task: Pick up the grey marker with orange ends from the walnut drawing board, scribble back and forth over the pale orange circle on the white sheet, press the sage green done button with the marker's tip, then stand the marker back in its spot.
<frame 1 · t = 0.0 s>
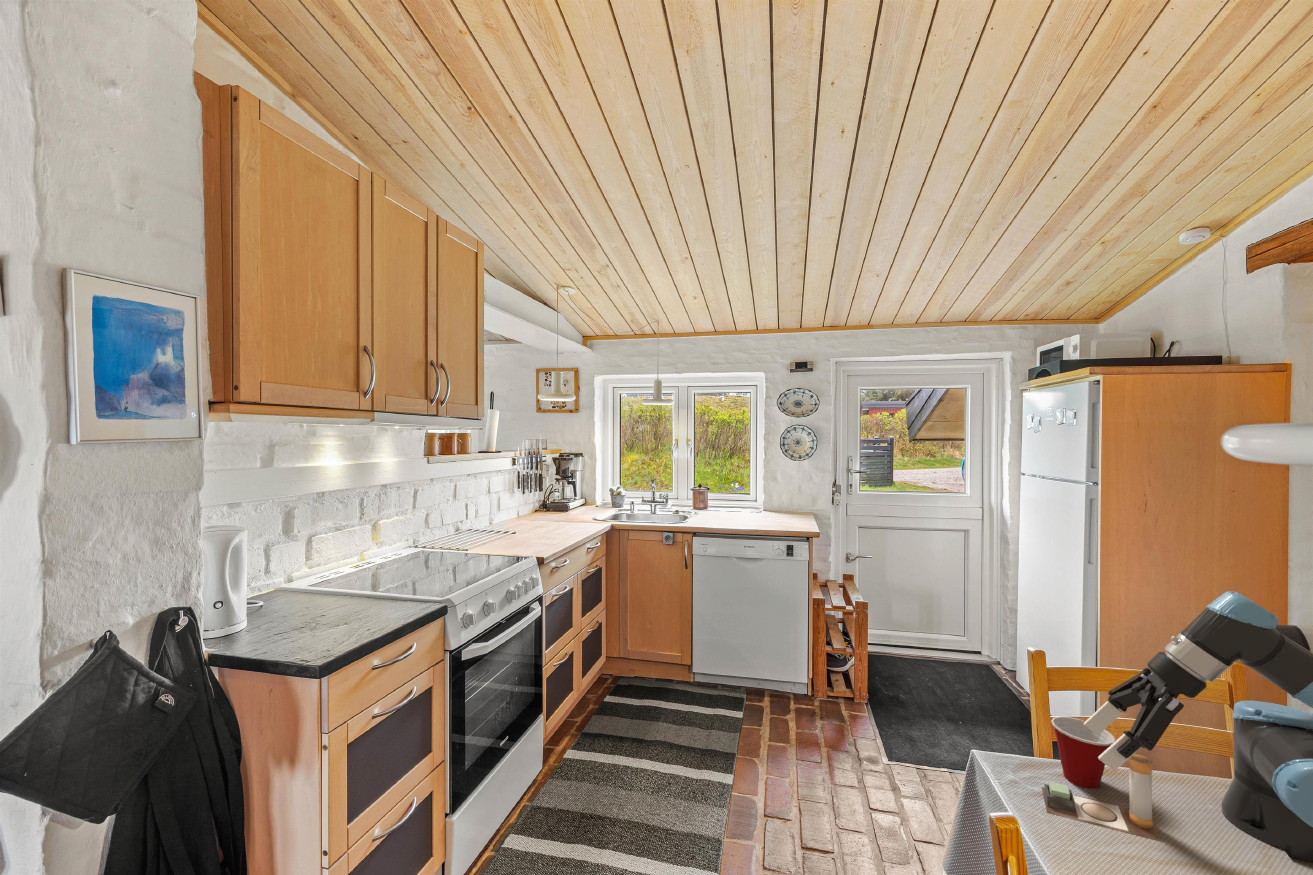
hand: (1097, 745, 106), 15 cm above the table, tool tilted 35°, fingers open, 13 cm apart
done button: (1059, 792, 112), point 3 cm above the table, slide at 0.0 cm
plastic cup: (1083, 785, 119), on the table
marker: (1140, 822, 106), point 1 cm above the table, touching board
board: (1097, 817, 109), on the table
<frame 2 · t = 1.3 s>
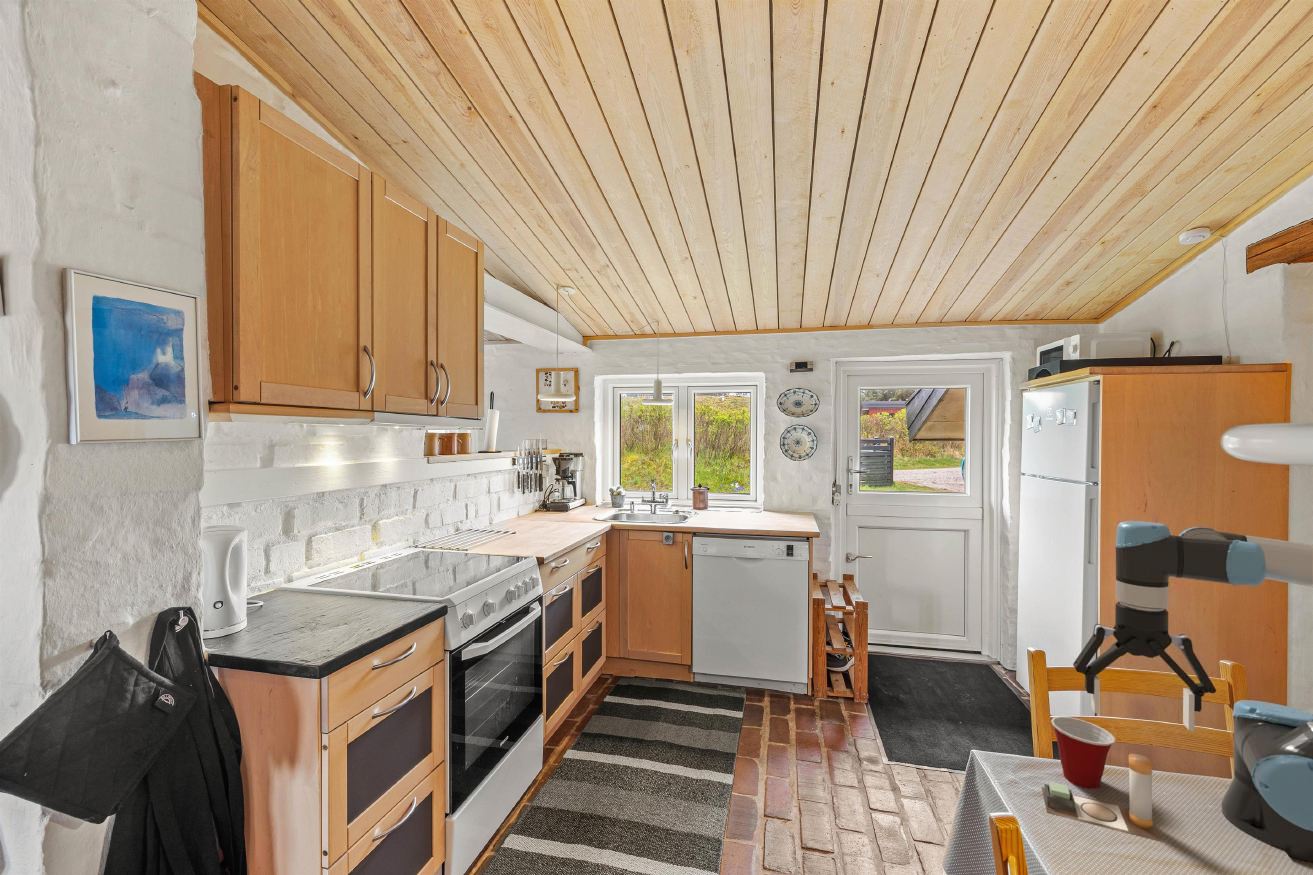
hand: (1140, 718, 106), 21 cm above the table, tool pointing down, fingers open, 13 cm apart
nothing on the table moved.
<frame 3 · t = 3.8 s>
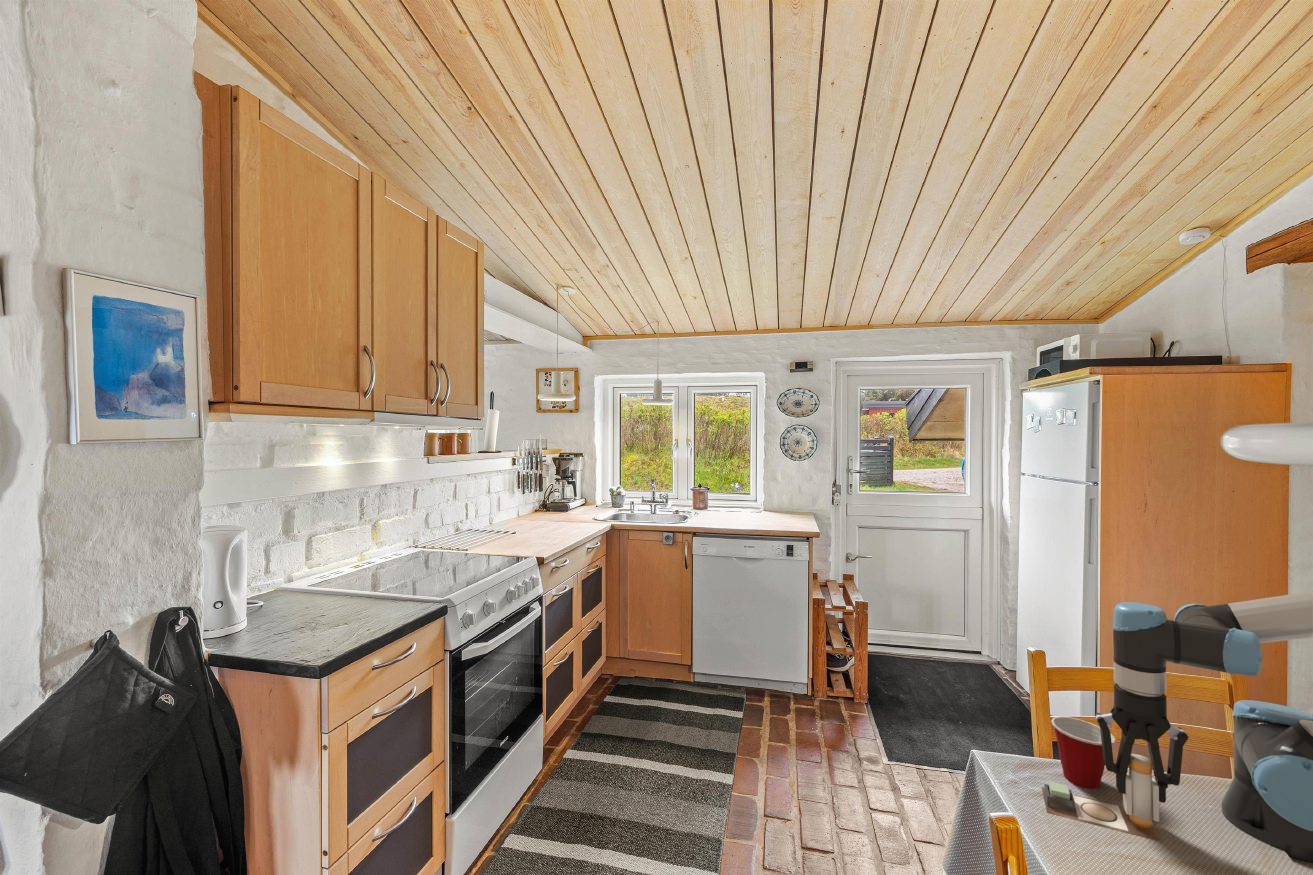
hand: (1140, 813, 106), 3 cm above the table, tool pointing down, fingers closed on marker, 3 cm apart
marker: (1140, 822, 106), point 1 cm above the table, touching board, gripper
everything else where it was.
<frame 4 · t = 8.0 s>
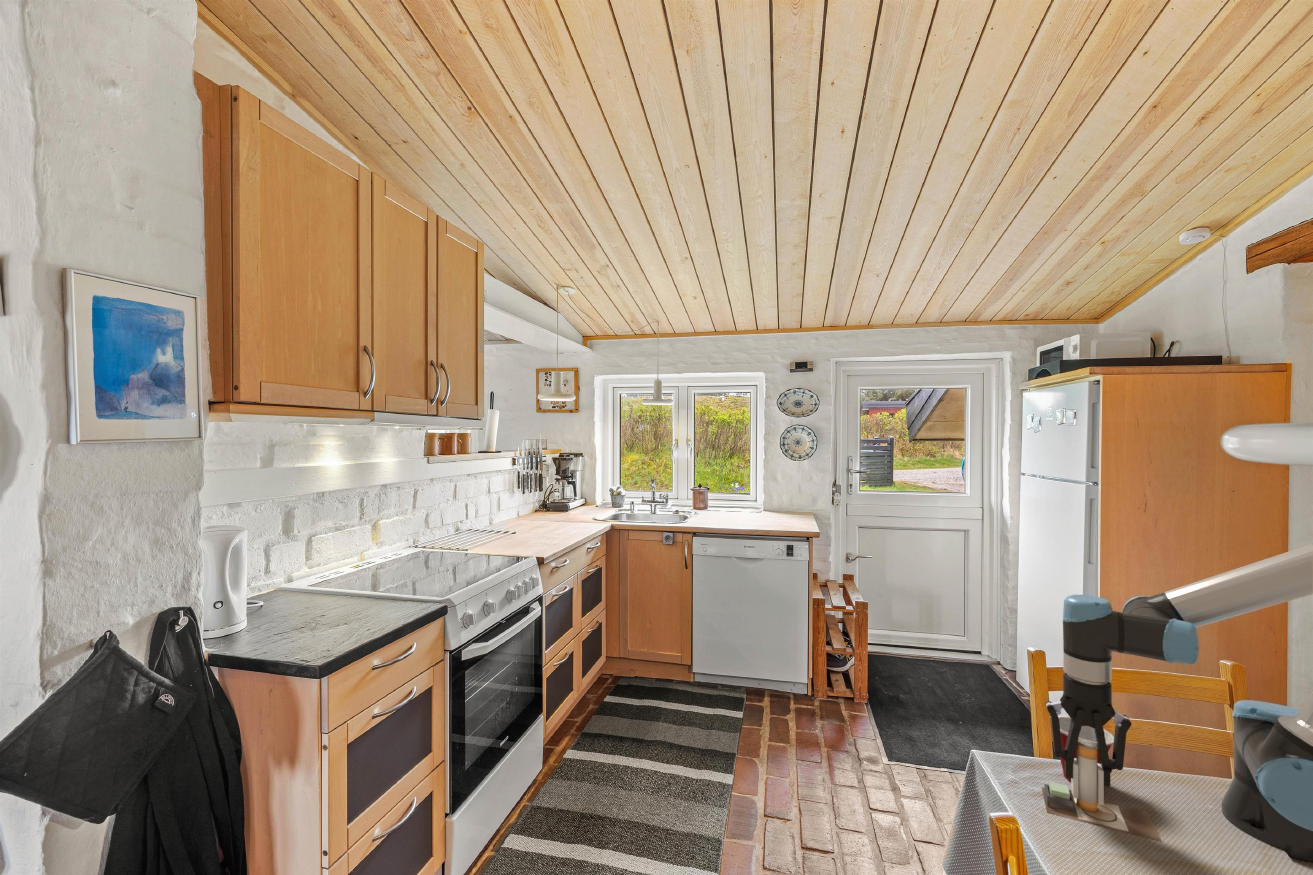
hand: (1087, 796, 110), 3 cm above the table, tool pointing down, fingers closed on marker, 3 cm apart
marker: (1087, 806, 110), point 1 cm above the table, touching gripper
everything else where it was.
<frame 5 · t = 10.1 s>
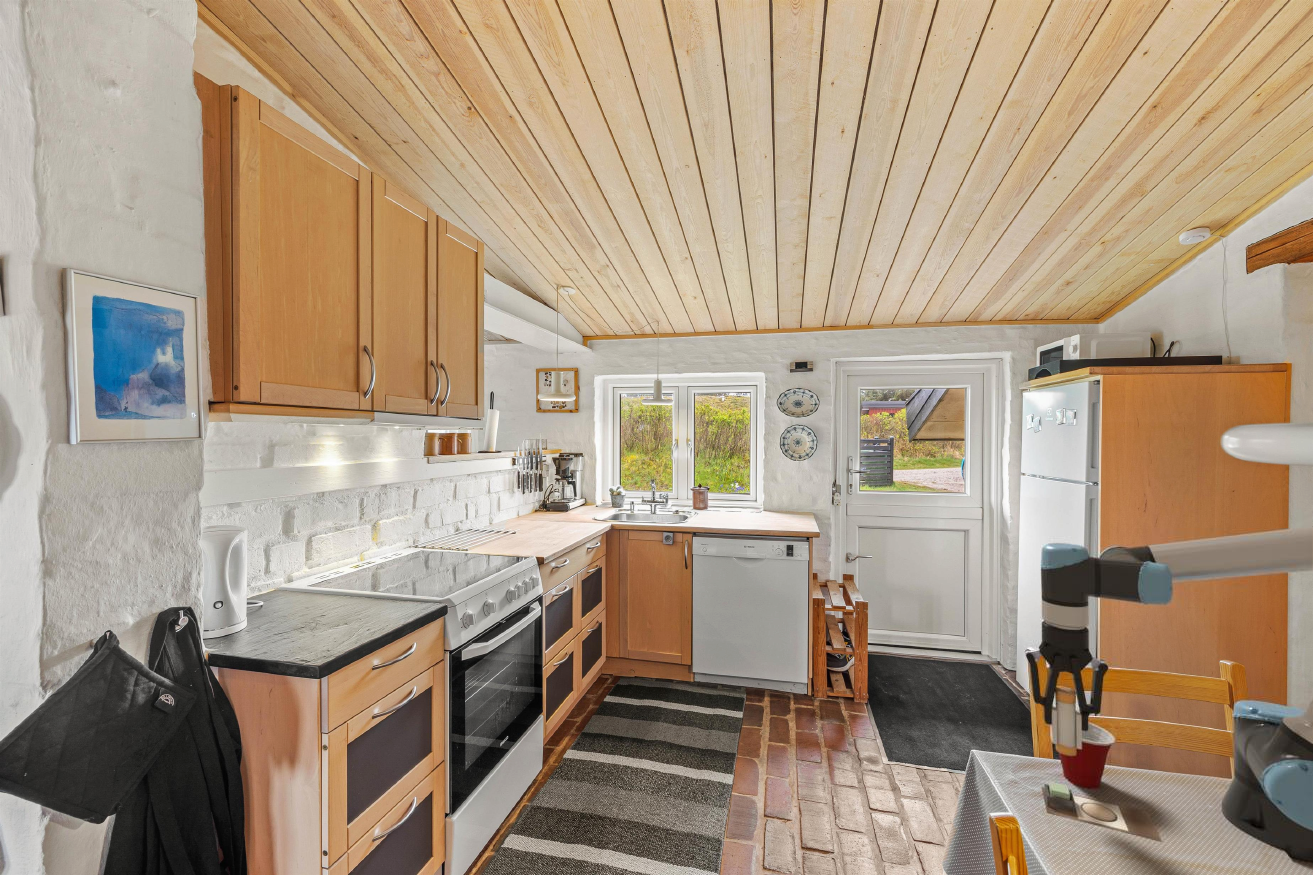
hand: (1065, 742, 111), 13 cm above the table, tool pointing down, fingers closed on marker, 3 cm apart
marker: (1065, 750, 111), point 12 cm above the table, touching gripper
everything else where it was.
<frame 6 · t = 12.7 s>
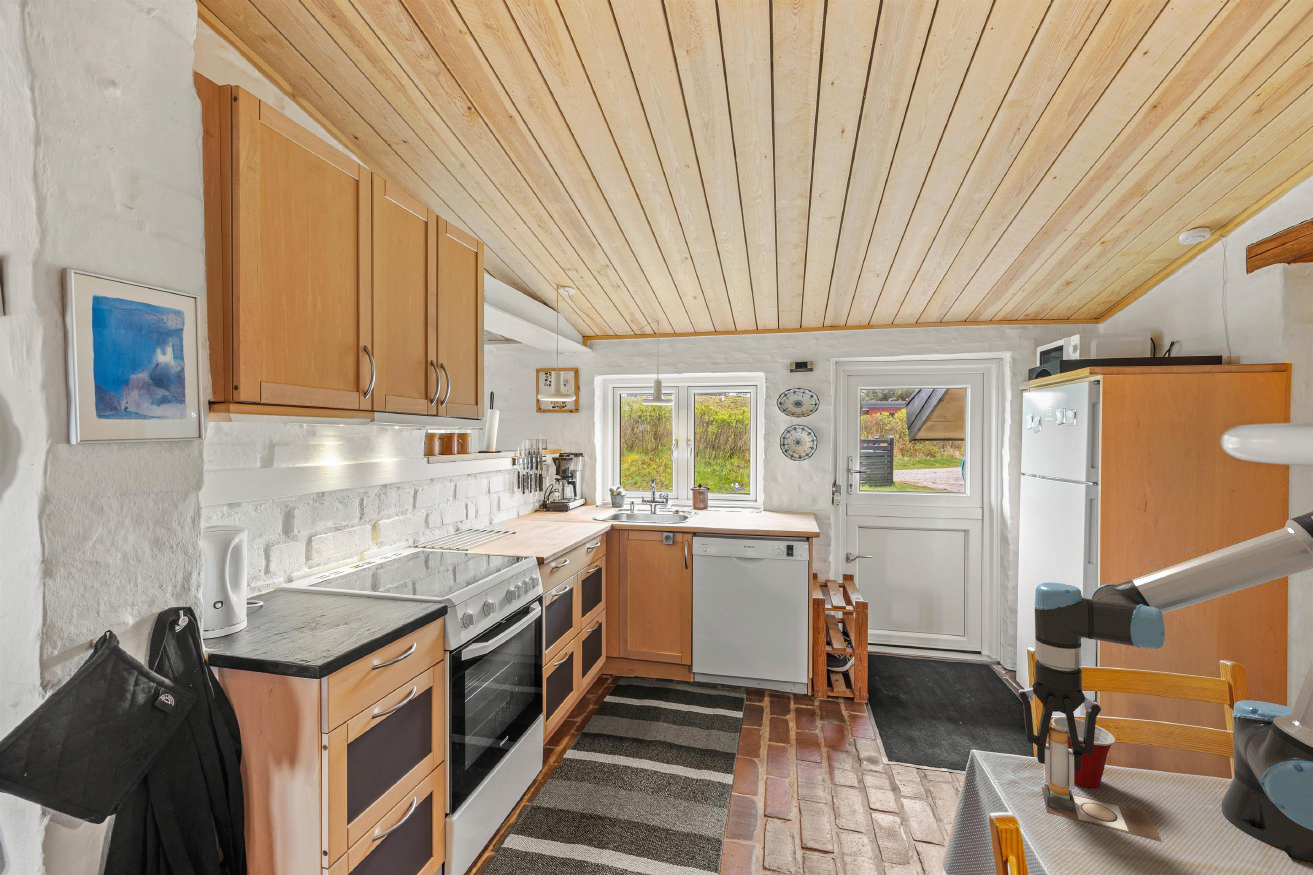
hand: (1058, 781, 112), 5 cm above the table, tool pointing down, fingers closed on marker, 3 cm apart
done button: (1059, 795, 112), point 2 cm above the table, slide at 0.5 cm, touching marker
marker: (1058, 790, 112), point 3 cm above the table, touching done button, gripper
everything else where it was.
when the fingers open (4 cm above the table, at t = 16.5 s): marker drops 1 cm, resting on board.
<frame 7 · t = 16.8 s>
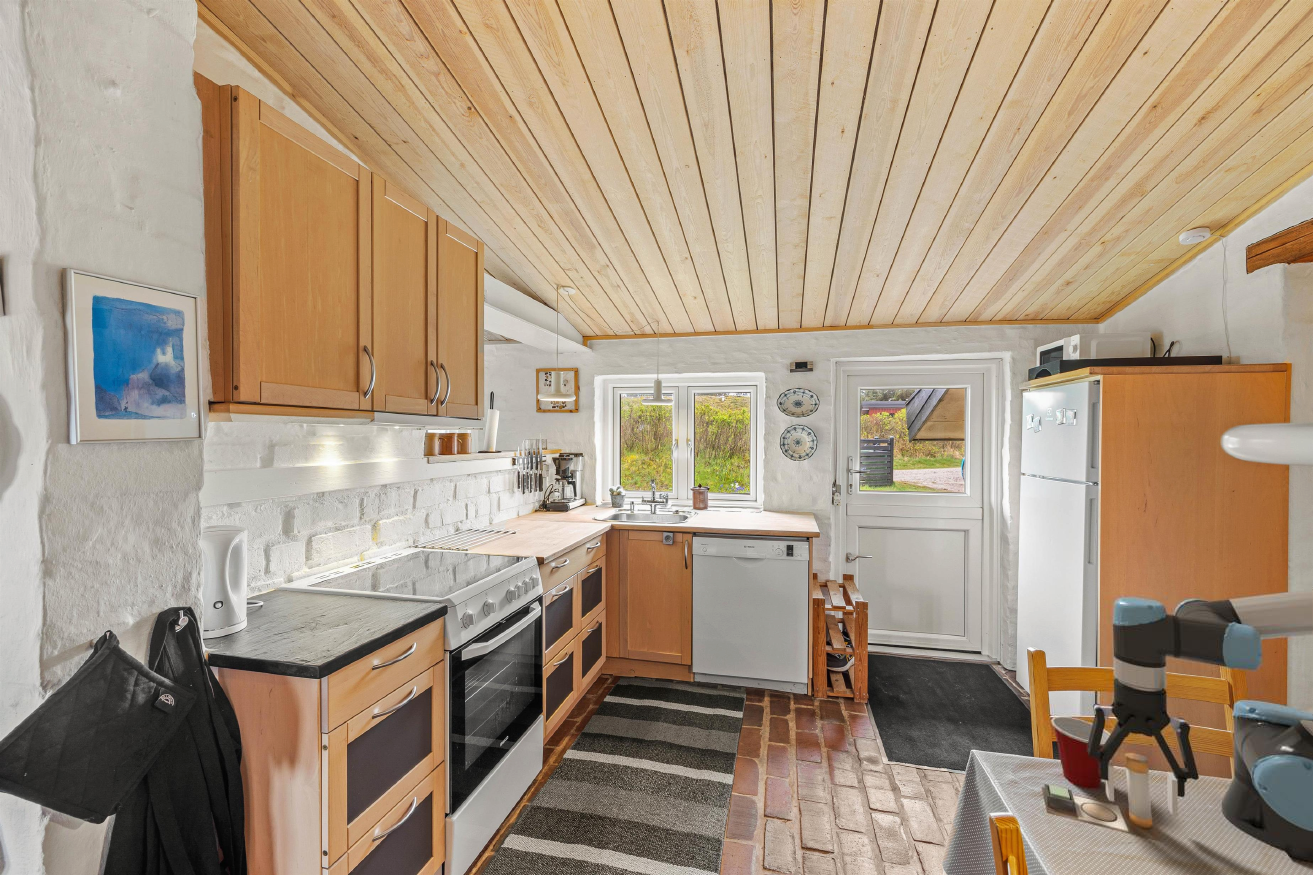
hand: (1140, 803, 106), 5 cm above the table, tool pointing down, fingers open, 8 cm apart
done button: (1059, 795, 112), point 2 cm above the table, slide at 0.6 cm
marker: (1140, 822, 106), point 1 cm above the table, touching board
everything else where it was.
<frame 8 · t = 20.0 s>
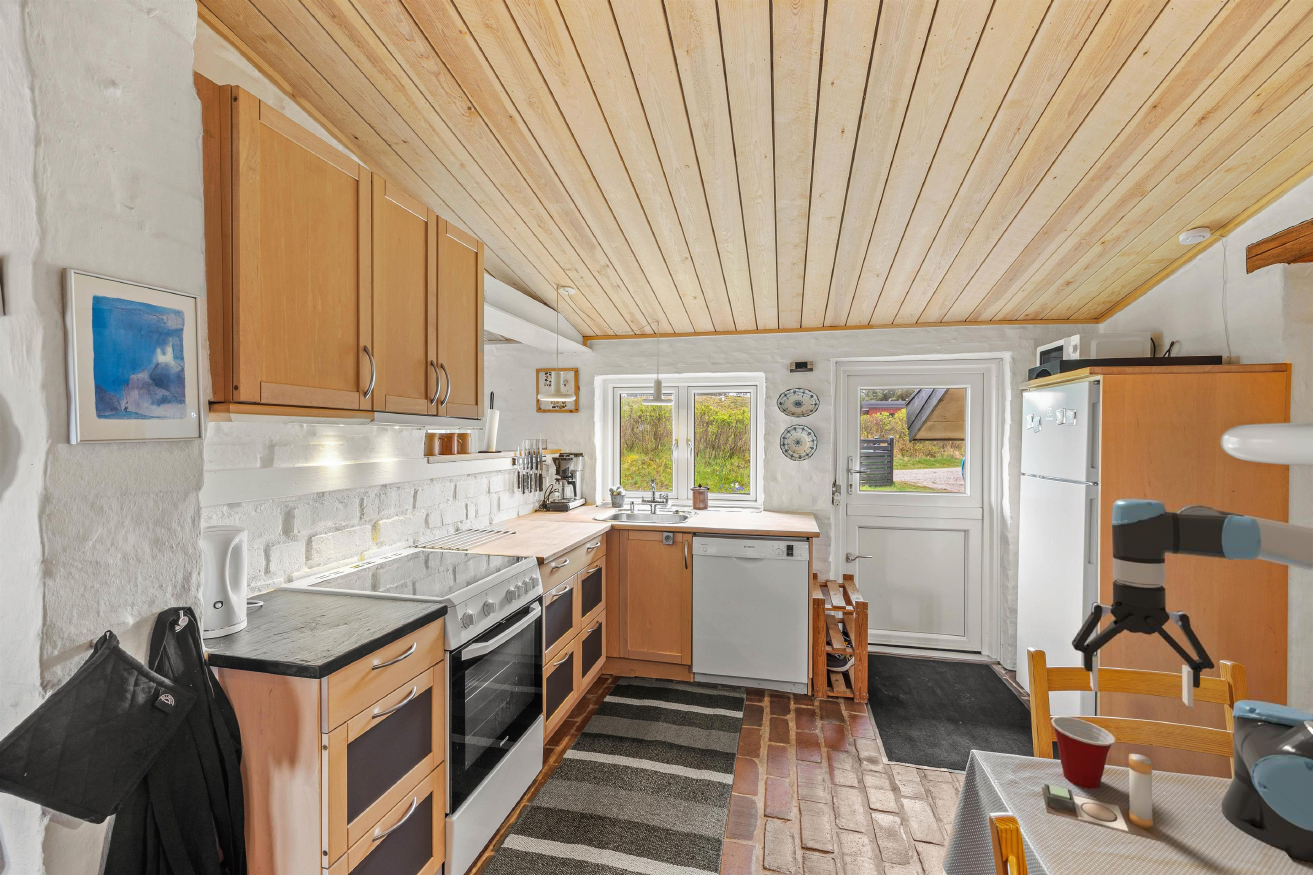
hand: (1139, 695, 106), 25 cm above the table, tool pointing down, fingers open, 13 cm apart
nothing on the table moved.
at the end: done button slide at 0.6 cm; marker 0.1 cm from the target spot on the board, point 1.0 cm above the board's base; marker tilted 0° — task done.
